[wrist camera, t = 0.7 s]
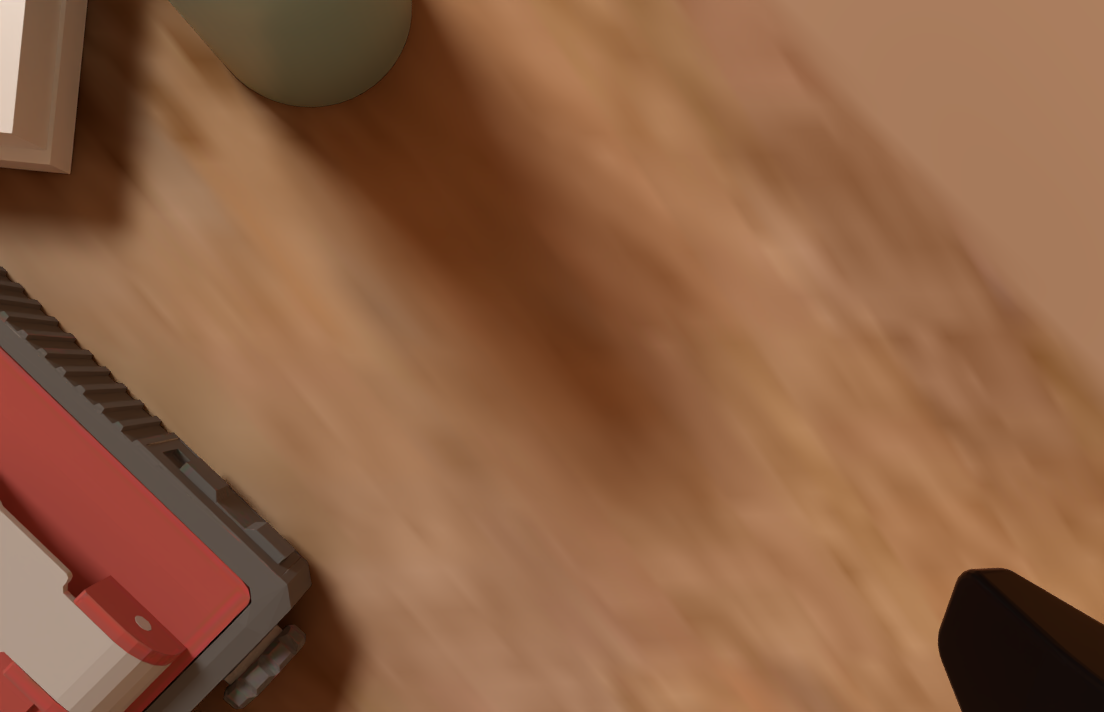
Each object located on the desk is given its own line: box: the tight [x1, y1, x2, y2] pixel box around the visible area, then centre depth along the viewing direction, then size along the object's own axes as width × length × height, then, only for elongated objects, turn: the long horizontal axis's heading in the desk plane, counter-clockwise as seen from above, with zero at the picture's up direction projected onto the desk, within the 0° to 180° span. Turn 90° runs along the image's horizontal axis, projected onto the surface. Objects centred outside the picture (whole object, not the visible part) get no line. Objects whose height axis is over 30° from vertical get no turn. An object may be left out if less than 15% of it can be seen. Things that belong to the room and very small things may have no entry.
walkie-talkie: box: [0, 267, 312, 712], centre depth 20 cm, size 9×4×20 cm
